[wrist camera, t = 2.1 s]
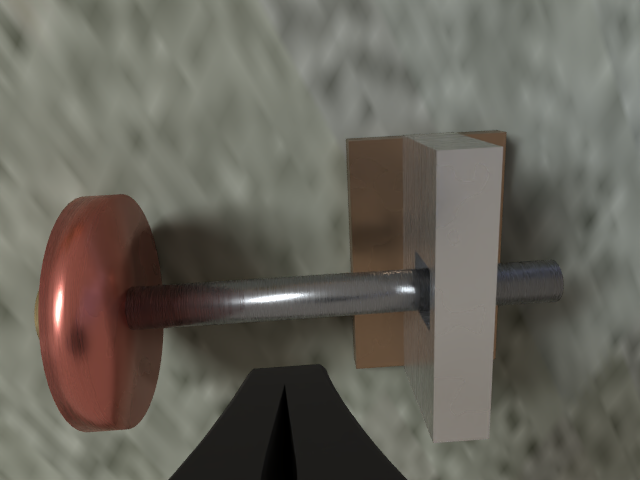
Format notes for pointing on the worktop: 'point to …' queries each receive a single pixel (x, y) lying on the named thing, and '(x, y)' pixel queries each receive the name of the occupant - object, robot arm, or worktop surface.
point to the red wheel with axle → (187, 306)
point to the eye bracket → (432, 266)
